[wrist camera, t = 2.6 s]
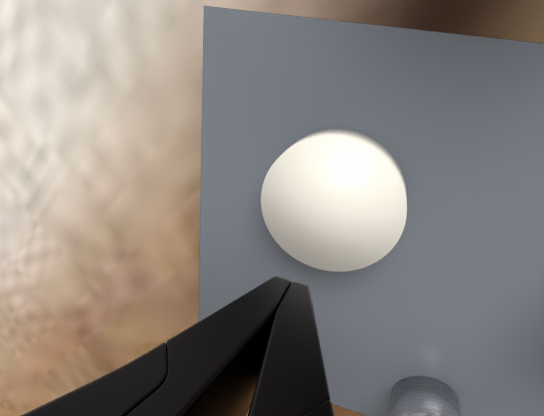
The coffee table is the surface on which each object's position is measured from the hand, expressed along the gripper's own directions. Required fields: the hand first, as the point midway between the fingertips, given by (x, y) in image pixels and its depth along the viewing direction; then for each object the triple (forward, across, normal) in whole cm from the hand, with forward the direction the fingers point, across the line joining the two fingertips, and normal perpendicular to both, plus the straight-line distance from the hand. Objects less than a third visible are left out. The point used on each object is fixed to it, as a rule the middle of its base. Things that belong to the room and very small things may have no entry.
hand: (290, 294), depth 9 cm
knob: (+9, 0, 0) cm, 9 cm away
